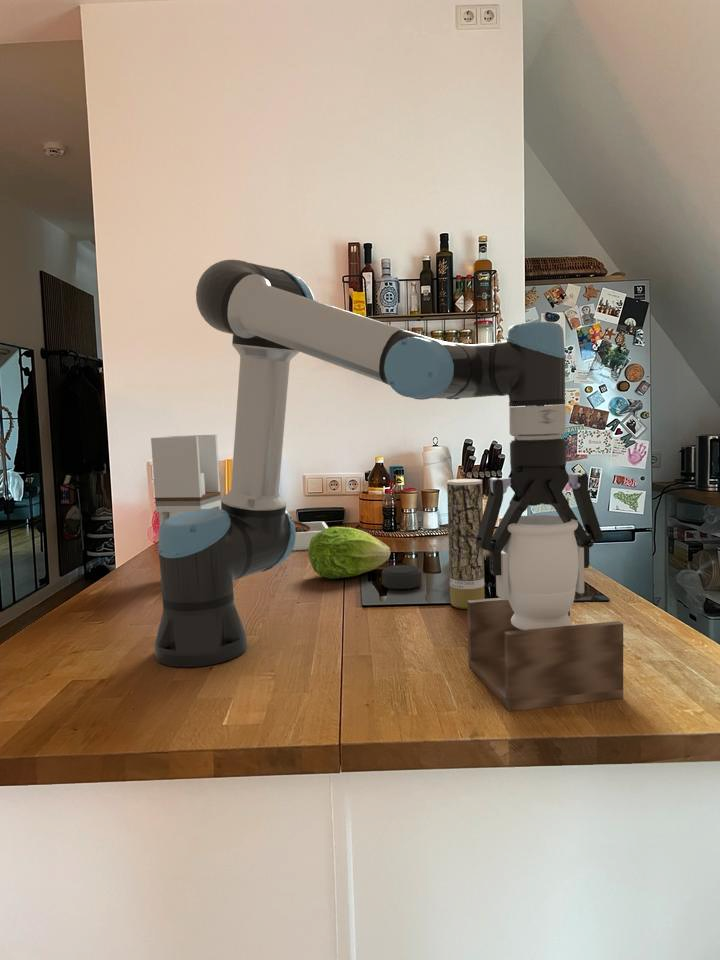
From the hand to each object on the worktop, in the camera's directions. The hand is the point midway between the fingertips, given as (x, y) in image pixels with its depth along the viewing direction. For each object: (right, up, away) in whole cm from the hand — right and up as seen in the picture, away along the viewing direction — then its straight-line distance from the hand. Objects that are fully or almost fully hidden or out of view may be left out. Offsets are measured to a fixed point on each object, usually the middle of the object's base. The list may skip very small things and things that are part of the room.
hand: (540, 594), depth 97 cm
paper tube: (-4, -9, +40) cm, 41 cm away
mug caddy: (-43, -3, +110) cm, 118 cm away
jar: (0, -5, 0) cm, 5 cm away
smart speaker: (-16, -8, +57) cm, 60 cm away
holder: (0, -13, +1) cm, 13 cm away
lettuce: (-27, -7, +69) cm, 75 cm away
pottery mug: (-45, -4, +110) cm, 119 cm away
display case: (-65, -9, +68) cm, 95 cm away
